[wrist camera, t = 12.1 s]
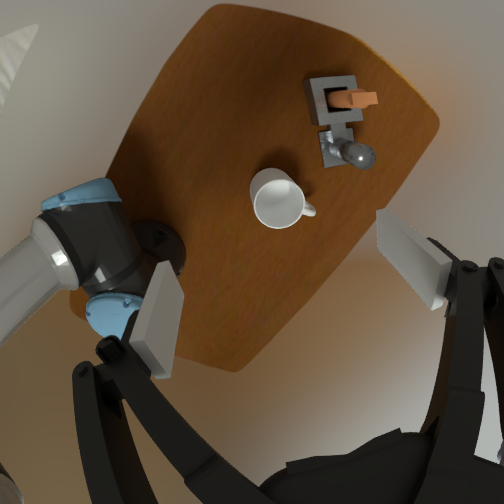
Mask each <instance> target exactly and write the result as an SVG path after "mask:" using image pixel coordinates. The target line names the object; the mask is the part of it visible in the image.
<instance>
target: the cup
mask: <svg viewBox="0 0 504 504" xmlns="http://www.w3.org/2000/svg"><path fill="white" fill-rule="evenodd" d="M250 196H251V200H252V204H253V207H254V211H255V214H256V216H257V218H258V219H259V220H260V221H261V222H262V223H263V224H264V225H266V226H268V227H271V228H277V229H278V228H285V227H288V226H291V225H292V224H294V223H295V222H296V221H298V219H299V218H300V217H301V215H302V214H304V215H307V216H314V215H315V214H316V210H315V208H314V207H313V206H312V205H311V204H310V203H308V202H306V201H305V197H304V194H303V192H302V190H301V189H300V188H299V186H298V185H297V184H296V183H295V182H294V181H293V180H292V179H291V178H290V177H289V176H288V175H287V174H286V173H285V172H283V171H282V170H280V169H276V168H267V169H264V170H261V171H260V172H258V173H257V174H256V175H255V176H254V177H253V179H252V181H251V184H250Z"/></svg>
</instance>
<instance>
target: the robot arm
mask: <svg viewBox="0 0 504 504" xmlns="http://www.w3.org/2000/svg"><path fill="white" fill-rule="evenodd" d="M121 202H122V199H121V198H119V196H118V194H117V191H116V189H115V187H114V185H113V183H112V181H111V180H109V179H107V178H99V179H95V180H92V181H89V182H87V183H84V184H81V185H79V186H76V187H73V188H71V189H69V190H67V191H64V192H62V193H60V194H57V195H55V196H52V197H50V198H48V199H46V200H44V201H43V202H42V203H41V211H42V212H43V214H41V215H39V216H38V217H36V218H35V219H34V220H33V223H32V227H31V231H30V235H29V236H28V237H27V238H25V239H24V240H23V241H21V242H20V243H19V244H17V245H16V246H15V247H14V248H12V249H11V250H10V251H9V252H7V253H6V254H5V255H4V256H2V257H1V258H0V347H1V346H2V345H3V344H4V343H5V342H6V341H7V340H8V339H9V338H10V337H11V336H12V335H13V334H14V333H15V332H16V331H17V330H18V329H19V328H20V327H21V326H22V325H23V324H24V322H26V321H27V320H28V319H29V318H30V317H31V316H32V315H33V314H34V313H35V312H36V311H37V310H38V309H39V308H40V307H41V306H42V305H44V304H45V303H46V302H47V301H48V300H49V299H50V298H51V297H52V296H53V295H54V294H56V293H57V292H58V291H59V290H60V289H69V290H76V289H78V288H79V287H80V286H82V287H83V289H84V291H85V292H86V294H87V296H88V297H89V299H90V300H89V301H88V302H87V305H86V310H87V311H86V317H87V320H88V322H89V324H90V325H91V326H92V328H93V329H94V330H95V331H96V332H97V333H99V334H100V335H101V336H103V337H104V338H103V339H102V340H101V341H100V342H99V343H98V344H97V346H96V349H95V350H96V354H97V355H98V356H99V358H100V359H101V360H102V361H103V362H104V363H102V364H100V365H97V366H93V365H92V363H91V362H89V361H84V362H81V363H79V364H78V365H77V366H76V367H75V369H74V370H73V374H72V383H73V400H74V411H75V422H76V430H77V437H78V443H79V449H80V455H81V460H82V465H83V469H84V474H85V478H86V483H87V487H88V491H89V494H90V498H91V501H92V504H158V502H157V499H156V497H155V495H154V493H153V491H152V489H151V486H150V484H149V481H148V479H147V476H146V474H145V471H144V469H143V466H142V464H141V462H140V458H139V456H138V453H137V450H136V447H135V444H134V441H133V438H132V435H131V432H130V428H129V425H128V421H127V418H126V414H125V411H124V407H123V403H122V399H125V400H126V401H127V403H128V404H129V406H130V407H131V409H132V411H133V412H134V414H135V415H136V417H137V418H138V420H139V421H140V423H141V424H142V425H143V427H144V428H145V430H146V431H147V433H148V434H149V435H150V437H151V438H152V440H153V441H154V442H155V444H156V445H157V446H158V447H159V449H160V450H161V451H162V453H163V454H164V455H165V456H166V458H167V459H168V460H169V461H170V463H171V464H172V465H173V466H174V467H175V468H176V469H177V471H178V472H179V473H180V474H181V475H182V477H183V478H184V483H185V484H186V486H187V487H188V488H189V489H190V490H191V492H192V493H193V494H194V495H195V496H196V497H197V498H198V499H199V500H200V501H201V502H202V503H203V504H504V260H503V259H501V258H497V257H494V258H491V259H490V260H489V263H488V267H478V266H477V265H476V264H475V263H474V262H472V261H468V260H467V261H466V260H463V261H460V260H459V259H458V258H457V257H456V256H454V255H453V254H452V253H451V252H450V251H449V250H447V249H446V248H445V247H444V246H442V245H441V244H440V243H439V242H437V241H436V240H434V239H431V238H429V237H428V238H425V237H424V236H423V235H421V234H420V233H419V232H418V231H416V230H415V229H414V228H412V227H411V226H410V225H409V224H407V223H406V222H405V221H403V220H402V219H401V218H399V217H398V216H397V215H395V214H394V213H393V212H391V211H390V210H389V209H387V208H384V209H380V210H376V212H377V249H378V250H379V251H380V252H381V253H382V254H383V255H384V256H385V257H386V258H387V260H389V262H390V263H391V264H392V265H393V266H394V267H395V268H396V269H397V271H398V272H399V273H400V274H401V275H402V276H403V277H404V279H405V280H406V281H407V282H408V283H409V284H410V285H411V287H412V288H413V289H414V290H415V291H416V293H417V294H418V295H419V296H420V297H421V299H422V300H423V301H424V302H425V303H426V305H427V306H428V307H429V309H430V310H431V311H432V310H434V309H436V308H438V307H441V306H442V305H443V301H444V297H446V298H447V300H448V301H449V302H448V305H447V309H446V312H445V316H444V317H446V324H445V331H444V339H443V345H442V352H441V357H440V363H439V368H438V373H437V377H436V382H435V386H434V390H433V394H432V399H431V402H430V406H429V409H428V412H427V416H426V419H425V421H424V423H423V425H422V427H421V430H420V432H419V433H418V432H406V433H402V432H401V430H400V428H398V429H395V430H393V431H391V432H388V433H386V434H383V435H381V436H378V437H375V438H373V439H372V440H370V441H369V442H367V443H365V444H364V445H362V446H360V447H359V448H357V449H356V450H354V451H352V452H350V453H348V454H345V455H332V456H313V457H309V458H305V459H300V460H296V461H291V462H286V467H287V468H284V469H282V470H280V471H278V472H276V473H275V474H273V475H272V476H270V477H269V478H268V479H266V480H265V481H264V482H263V483H262V484H261V485H260V486H259V487H258V486H256V485H255V484H254V483H253V482H251V481H250V480H249V479H248V478H246V477H245V476H244V475H243V474H241V473H240V472H239V471H238V470H237V469H235V468H234V467H233V466H232V465H231V464H230V463H228V462H227V461H226V460H225V459H224V458H223V457H222V456H221V455H220V454H219V453H217V452H216V451H215V450H214V449H213V448H212V447H211V446H210V445H209V444H208V443H207V442H206V441H205V440H204V439H203V438H202V437H201V436H200V435H199V434H198V433H197V432H196V431H195V430H194V429H193V428H192V427H191V426H190V425H189V424H188V423H187V422H186V420H185V419H184V418H183V417H182V416H181V415H180V414H179V413H178V412H177V411H176V410H175V408H174V407H173V406H172V405H171V404H170V403H169V401H168V400H167V399H166V398H165V397H164V396H163V394H162V393H161V392H160V391H159V390H158V388H157V387H156V386H155V385H154V383H153V382H152V381H151V380H150V376H151V373H152V374H153V375H154V376H155V378H156V379H164V378H170V377H171V371H172V364H173V358H174V352H175V345H176V339H177V334H178V328H179V322H180V317H181V311H182V306H183V301H184V293H183V291H182V289H181V287H180V284H179V282H178V280H177V278H178V277H179V276H180V274H181V272H182V270H183V267H184V263H185V248H184V245H183V243H182V241H181V239H180V237H179V236H178V235H177V234H176V232H175V231H173V230H172V229H171V228H170V227H168V226H167V225H165V224H162V223H160V222H156V221H149V220H147V221H140V222H137V223H134V224H132V225H131V224H130V222H129V219H128V217H127V215H126V212H125V210H124V208H123V205H122V203H121ZM484 328H485V332H486V335H487V339H488V343H489V348H490V352H491V357H492V362H493V367H494V373H495V380H496V386H497V394H498V403H499V414H500V425H501V432H502V438H503V442H502V444H501V448H500V450H499V451H498V455H497V457H498V460H499V461H500V464H497V463H494V462H491V461H489V460H486V459H484V458H481V457H478V456H476V455H474V452H475V448H476V444H477V440H478V436H479V431H480V426H481V421H482V415H483V409H484V402H485V393H484V392H481V379H482V367H483V349H484ZM0 504H24V498H23V495H22V493H21V491H20V490H19V488H18V487H17V485H16V484H15V482H14V481H13V479H12V478H11V476H10V475H9V474H8V472H7V471H6V470H5V468H4V467H3V465H2V464H1V463H0Z"/></svg>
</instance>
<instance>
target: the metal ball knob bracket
mask: <svg viewBox="0 0 504 504" xmlns="http://www.w3.org/2000/svg"><path fill="white" fill-rule="evenodd" d="M303 85H304V89H305V94H306V98H307V103H308V108H309V112H310V117H311V122H312V125H318V126H321V125H326V127H327V131H324V132H318V138H319V143H320V149H321V155H322V161H323V167H324V168H327V167H332V166H337V165H343V164H351V165H353V166H355V167H358V168H360V169H362V170H367V169H370V168H371V167H372V166H373V165H374V163H375V160H376V155H375V152H374V150H373V149H372V148H371V147H370V146H368V145H364V144H361V143H357V142H354V137H353V130H352V128H346V125H345V122H352V121H361V120H363V116H362V110H361V108H342V110H341V111H332V112H328V110H327V105H326V100H325V95H324V90H323V89H332V88H338V91H344V90H352V89H358V88H357V84H356V79H355V75H353V76H335V77H322V78H312V79H308V80H305V81H303Z"/></svg>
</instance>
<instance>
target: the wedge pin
mask: <svg viewBox="0 0 504 504" xmlns="http://www.w3.org/2000/svg"><path fill="white" fill-rule="evenodd" d="M324 95H325V100H326V105H327V107H328V108H366V107H367V106H368V105H369V104H378V101H377V95H376V92H366V91H365V90H363V89H352V90H344V91H336V92H329V93H324Z"/></svg>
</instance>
